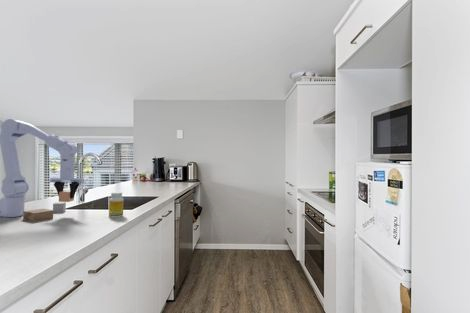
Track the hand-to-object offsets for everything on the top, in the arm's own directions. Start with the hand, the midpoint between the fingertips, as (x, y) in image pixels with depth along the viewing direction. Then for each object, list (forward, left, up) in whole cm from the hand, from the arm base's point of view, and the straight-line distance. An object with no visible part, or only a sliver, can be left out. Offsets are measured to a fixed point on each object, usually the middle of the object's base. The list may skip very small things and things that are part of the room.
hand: (66, 198), depth 132 cm
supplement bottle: (+22, +6, -9) cm, 24 cm away
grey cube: (-11, +8, -8) cm, 16 cm away
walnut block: (-6, -9, -9) cm, 14 cm away
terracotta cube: (0, 0, -1) cm, 1 cm away
